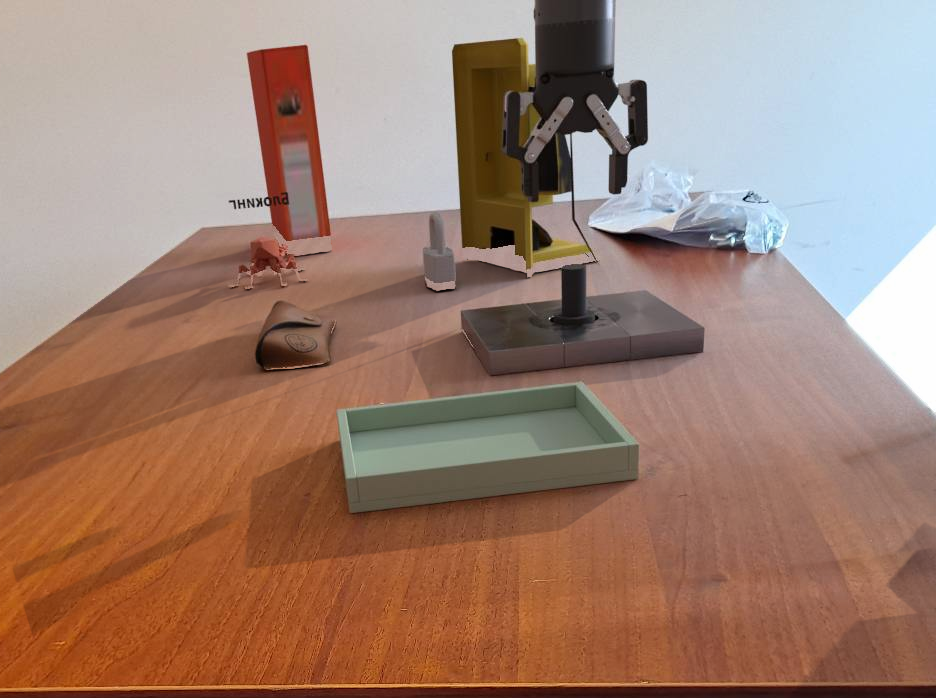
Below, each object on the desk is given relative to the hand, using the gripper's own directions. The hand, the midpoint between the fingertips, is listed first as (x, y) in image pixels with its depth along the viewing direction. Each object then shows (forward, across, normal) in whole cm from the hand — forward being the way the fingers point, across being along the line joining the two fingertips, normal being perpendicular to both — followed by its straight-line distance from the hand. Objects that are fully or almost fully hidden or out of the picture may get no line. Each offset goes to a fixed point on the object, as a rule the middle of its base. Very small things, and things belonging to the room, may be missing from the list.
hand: (574, 197), depth 99 cm
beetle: (+15, -34, +53) cm, 64 cm away
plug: (+15, 0, 0) cm, 15 cm away
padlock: (+15, -10, +34) cm, 39 cm away
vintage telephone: (+15, +6, +43) cm, 46 cm away
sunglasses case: (+15, -30, +10) cm, 35 cm away
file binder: (+15, -29, +78) cm, 85 cm away
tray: (+15, -16, -30) cm, 37 cm away
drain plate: (+15, 0, 0) cm, 15 cm away
